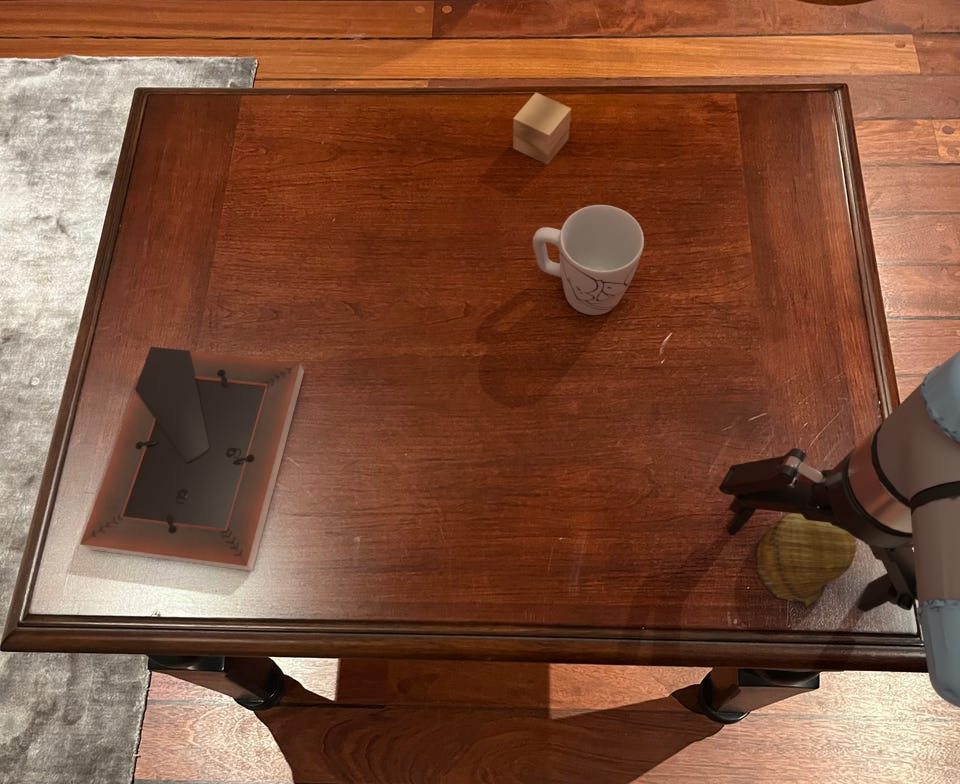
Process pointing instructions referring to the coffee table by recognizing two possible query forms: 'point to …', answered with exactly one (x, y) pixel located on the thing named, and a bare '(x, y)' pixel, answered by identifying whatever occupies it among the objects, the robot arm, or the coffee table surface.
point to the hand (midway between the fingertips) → (800, 559)
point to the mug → (593, 256)
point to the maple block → (541, 128)
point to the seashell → (803, 557)
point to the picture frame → (196, 459)
